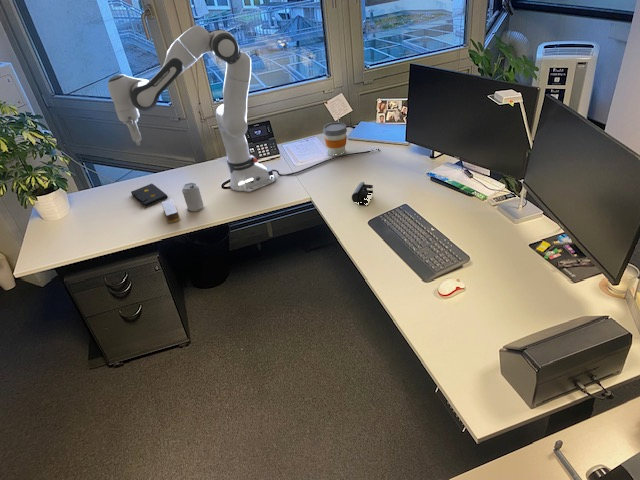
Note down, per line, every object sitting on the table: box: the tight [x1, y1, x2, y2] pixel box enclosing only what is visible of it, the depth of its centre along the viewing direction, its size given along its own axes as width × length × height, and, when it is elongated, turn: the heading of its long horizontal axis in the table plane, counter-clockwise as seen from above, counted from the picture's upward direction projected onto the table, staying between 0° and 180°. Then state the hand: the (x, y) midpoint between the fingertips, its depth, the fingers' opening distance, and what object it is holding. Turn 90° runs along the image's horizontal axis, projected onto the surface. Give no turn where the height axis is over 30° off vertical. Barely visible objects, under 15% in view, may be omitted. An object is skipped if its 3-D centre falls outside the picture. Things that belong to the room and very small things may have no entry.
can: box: [181, 182, 204, 212], centre depth 215 cm, size 8×8×12 cm
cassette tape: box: [130, 183, 168, 208], centre depth 231 cm, size 18×12×2 cm, turn 40°
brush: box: [160, 198, 180, 224], centre depth 214 cm, size 5×14×4 cm, turn 25°
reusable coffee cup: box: [322, 121, 348, 157], centre depth 250 cm, size 13×13×15 cm
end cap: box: [351, 181, 374, 207], centre depth 208 cm, size 10×7×7 cm
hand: (138, 144), depth 207 cm, fingers closed
